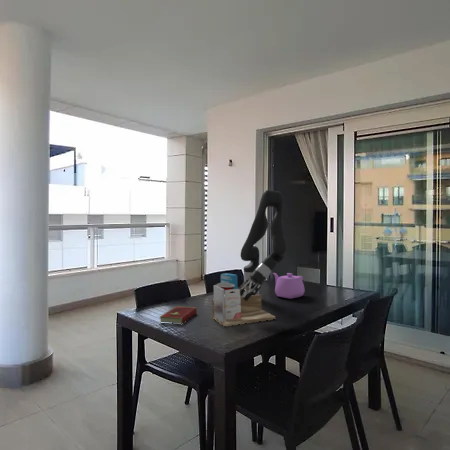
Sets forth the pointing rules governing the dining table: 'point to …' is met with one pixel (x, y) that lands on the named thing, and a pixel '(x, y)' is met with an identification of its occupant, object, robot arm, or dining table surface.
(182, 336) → the dining table surface
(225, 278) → the data package
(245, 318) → the shelf board
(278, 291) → the teapot
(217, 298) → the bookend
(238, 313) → the ink cartridge box
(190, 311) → the hardcover book
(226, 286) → the plastic cup
